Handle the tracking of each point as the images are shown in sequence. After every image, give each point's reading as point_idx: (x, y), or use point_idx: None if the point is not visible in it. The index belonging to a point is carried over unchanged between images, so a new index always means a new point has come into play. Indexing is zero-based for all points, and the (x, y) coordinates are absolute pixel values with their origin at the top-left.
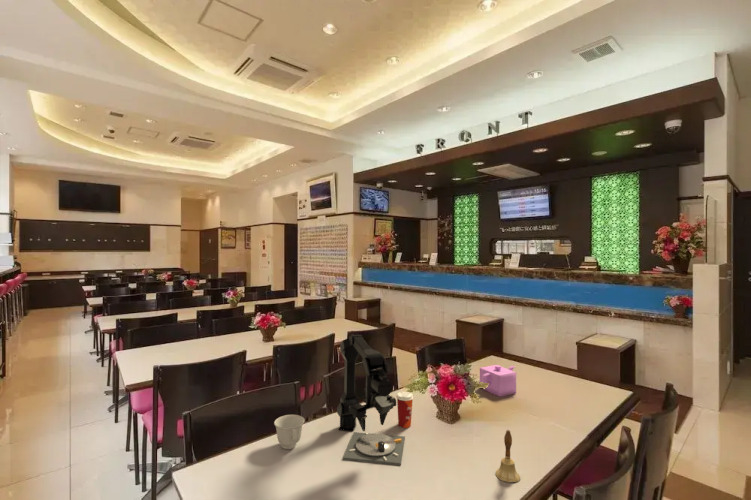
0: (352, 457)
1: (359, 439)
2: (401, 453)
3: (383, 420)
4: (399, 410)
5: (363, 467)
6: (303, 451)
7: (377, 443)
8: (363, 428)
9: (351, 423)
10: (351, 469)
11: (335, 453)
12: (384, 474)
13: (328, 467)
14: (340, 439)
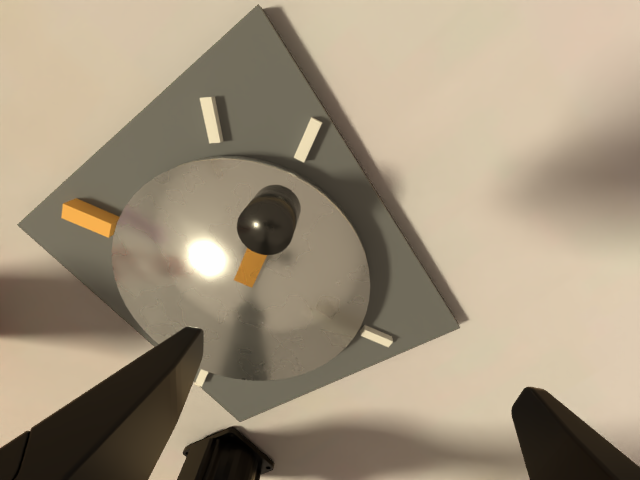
0: (427, 295)
1: (285, 369)
2: (164, 99)
3: (152, 379)
4: None
5: (452, 194)
6: (502, 457)
7: (237, 278)
8: (605, 439)
9: (218, 469)
10: (511, 231)
11: (431, 373)
12: (437, 24)
13: (559, 324)
14: (322, 422)
